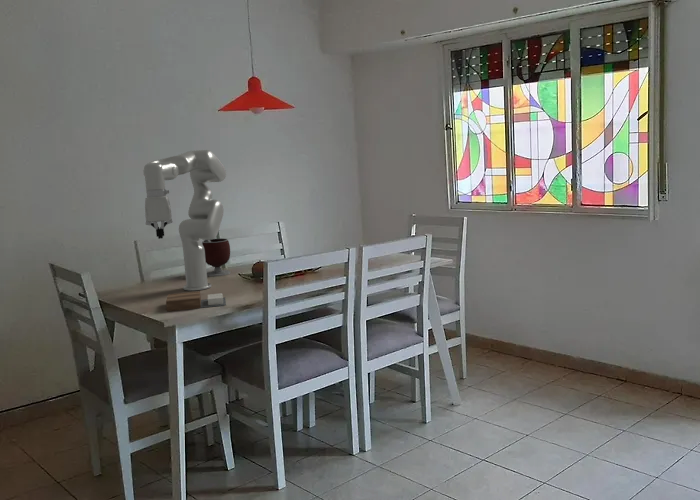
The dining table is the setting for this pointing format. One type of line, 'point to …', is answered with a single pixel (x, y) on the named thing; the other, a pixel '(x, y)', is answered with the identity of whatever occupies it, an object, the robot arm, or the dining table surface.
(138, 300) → the dining table surface
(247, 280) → the dining table surface
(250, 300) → the dining table surface
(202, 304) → the mat
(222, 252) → the mate gourd
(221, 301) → the tile
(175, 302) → the panel
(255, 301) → the dining table surface
